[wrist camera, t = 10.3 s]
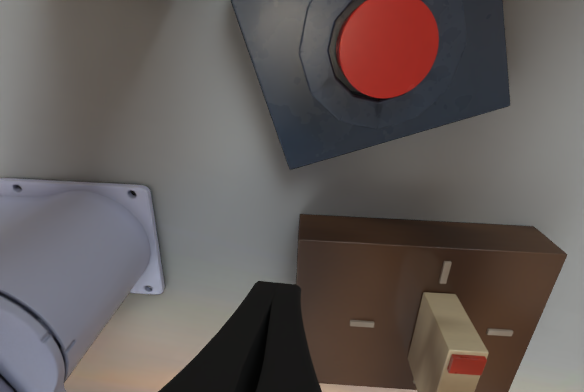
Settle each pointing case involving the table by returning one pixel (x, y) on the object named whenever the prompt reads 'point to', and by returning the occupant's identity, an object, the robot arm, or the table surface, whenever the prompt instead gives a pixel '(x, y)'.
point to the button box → (349, 101)
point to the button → (387, 46)
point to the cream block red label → (445, 347)
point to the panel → (417, 292)
